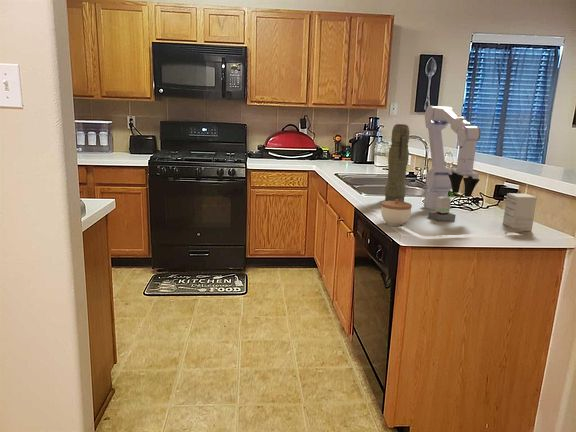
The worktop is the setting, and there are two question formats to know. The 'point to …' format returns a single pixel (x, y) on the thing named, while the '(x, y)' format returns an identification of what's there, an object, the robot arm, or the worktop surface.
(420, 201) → the worktop surface
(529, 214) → the supplement box
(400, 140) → the potted cactus
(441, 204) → the column
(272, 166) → the worktop surface
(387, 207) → the lidded jar
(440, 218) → the stand base
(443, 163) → the robot arm
